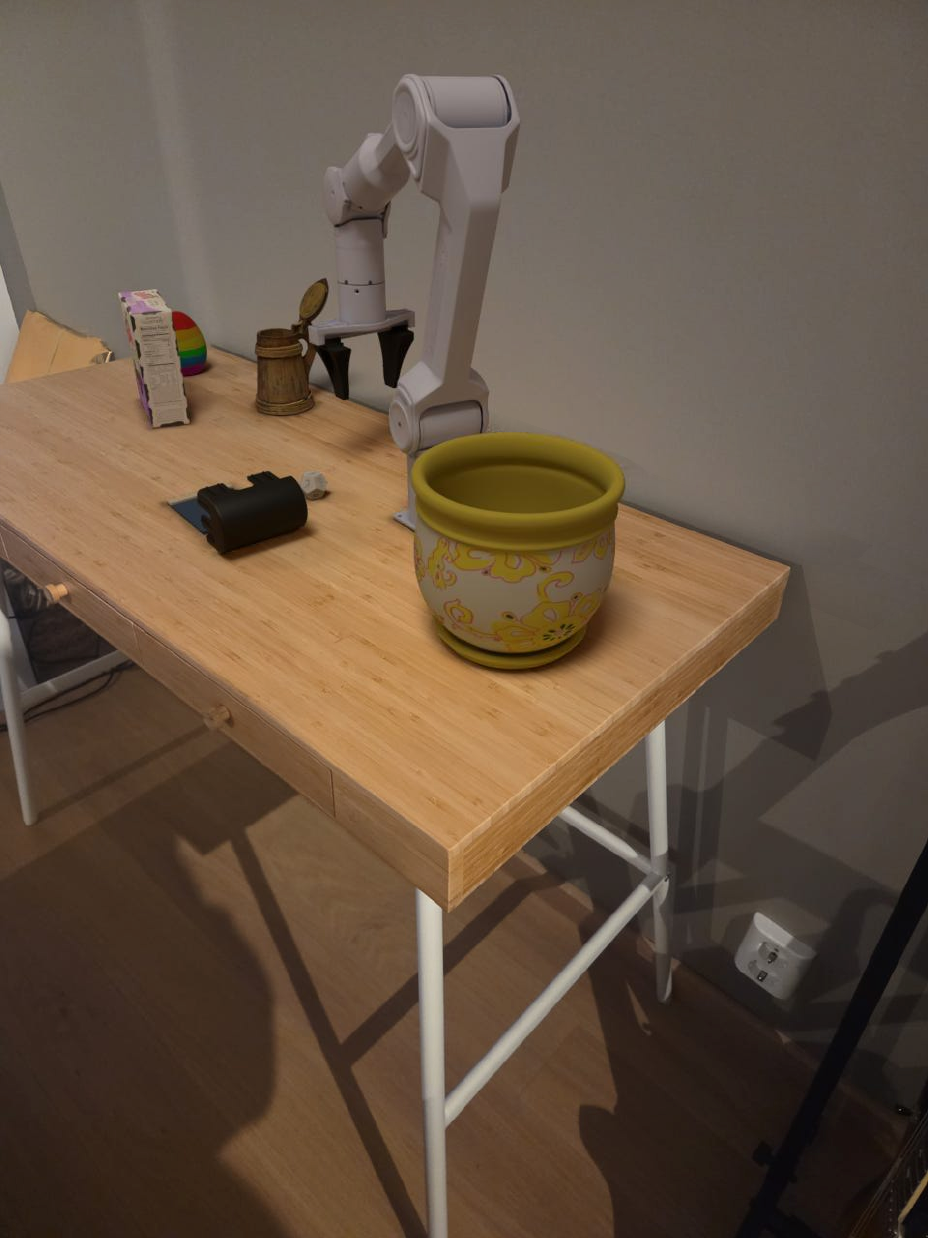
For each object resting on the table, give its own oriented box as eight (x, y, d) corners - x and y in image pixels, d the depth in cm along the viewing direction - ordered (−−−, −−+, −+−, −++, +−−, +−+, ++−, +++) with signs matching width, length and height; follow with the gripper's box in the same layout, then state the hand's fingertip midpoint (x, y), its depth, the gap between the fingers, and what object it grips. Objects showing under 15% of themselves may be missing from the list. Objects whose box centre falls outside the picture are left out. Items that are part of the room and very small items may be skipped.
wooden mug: (349, 402, 131) (341, 282, 121) (270, 419, 125) (255, 293, 115) (322, 387, 137) (313, 272, 127) (246, 403, 130) (229, 282, 121)
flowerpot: (641, 628, 79) (667, 468, 70) (524, 718, 68) (537, 541, 59) (497, 564, 89) (503, 416, 80) (374, 633, 78) (365, 471, 69)
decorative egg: (197, 361, 148) (187, 303, 143) (218, 372, 143) (209, 312, 138) (153, 370, 144) (141, 310, 138) (173, 381, 139) (161, 319, 133)
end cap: (229, 566, 88) (219, 509, 84) (201, 541, 93) (190, 485, 89) (311, 539, 93) (306, 484, 89) (281, 516, 98) (274, 463, 94)
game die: (293, 495, 103) (291, 472, 101) (319, 487, 105) (317, 465, 103) (308, 504, 101) (306, 482, 99) (334, 496, 103) (332, 474, 101)
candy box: (139, 400, 131) (116, 290, 122) (177, 395, 133) (158, 287, 124) (151, 429, 121) (127, 312, 112) (192, 423, 123) (172, 308, 114)
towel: (266, 514, 98) (266, 509, 98) (203, 534, 94) (202, 529, 94) (228, 487, 105) (227, 481, 104) (167, 504, 100) (166, 499, 100)
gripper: (390, 267, 106) (394, 373, 113) (291, 282, 98) (302, 395, 106) (424, 277, 101) (425, 386, 109) (322, 293, 94) (331, 410, 101)
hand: (367, 391), depth 107 cm, fingers open, 7 cm apart
